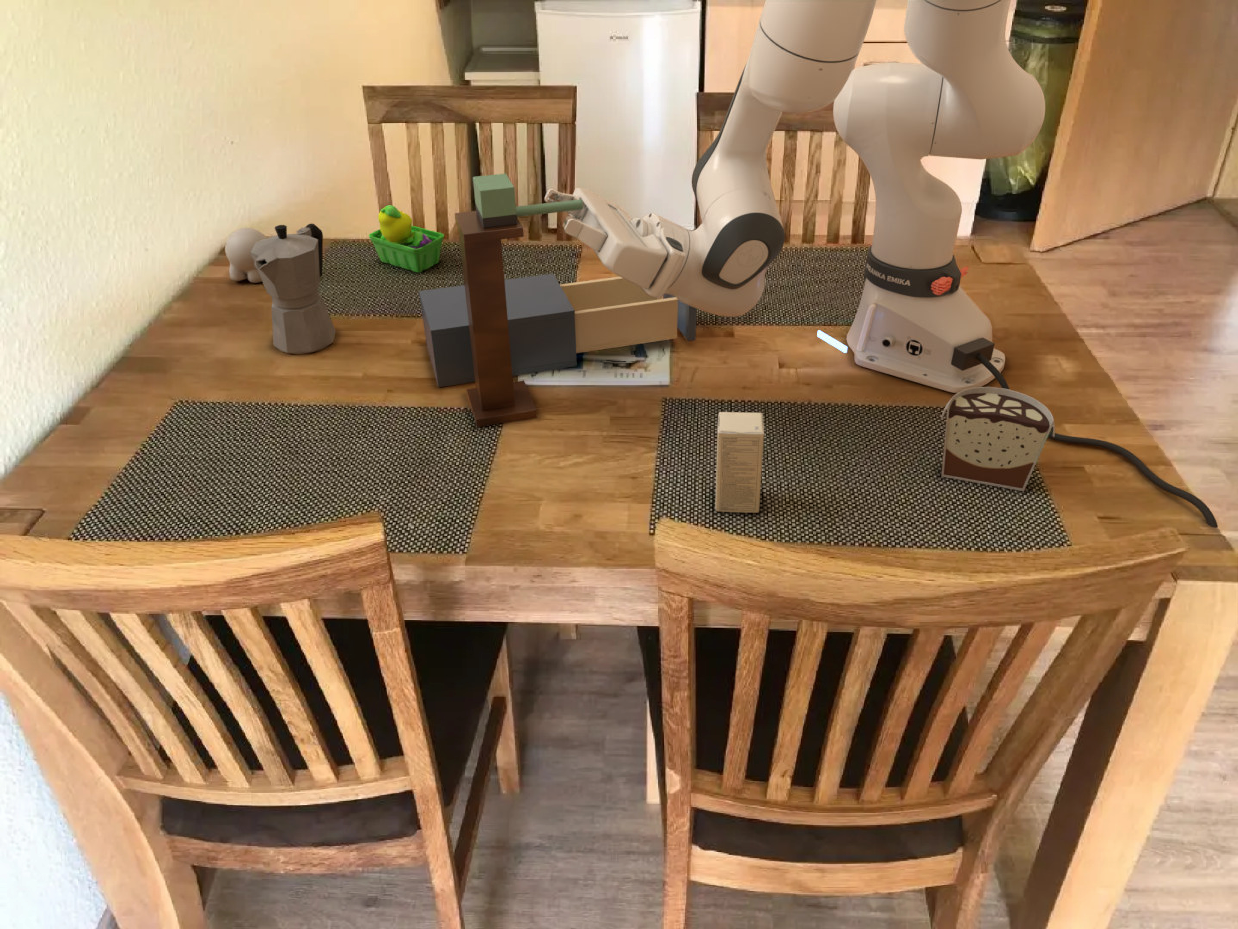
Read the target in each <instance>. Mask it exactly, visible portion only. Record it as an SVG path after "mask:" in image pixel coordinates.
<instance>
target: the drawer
mask: <svg viewBox="0 0 1238 929" xmlns="http://www.w3.org/2000/svg"><path fill="white" fill-rule="evenodd" d="M559 284H560V286H561V288H562V290H563V291H564V293H565V295H566V296H567V298H568V300H569V302H570V303H571V305H572V307H573V309H574V310H575V333H576V354H580V353H587V352H593V351H601V350H607V349H615V348H621V347H627V346H634V345H640V344H647V343H653V342H661V341H668V340H674V339H678V330H679V332H680V333H681V334H682V336H683V337H684V339H686V341H687V342H693V341H696V338H697V336H696V335H697V316H698V314H697V313H698V312H697V311H698V309H696V308H694V307H691V306H689V305H687V304H684V303H682V302H681V301H679V300H678V299H677V298H676V297H675V296H673V295H671V294H664V295H663V297H662V298H661V299H656V298H654V297H652V296H650V295H648V294H647V293H646V292H645V291H644V290H643V289H642V288H641V287H639V286H637V285H635V284H633V283H631V282H629V281H627V280H626V279H624V278H622V277H620V276H613V277H605V278H598V279H590V280H582V281H575V282H569V283H568V282H567V283H559Z"/></svg>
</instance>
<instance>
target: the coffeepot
mask: <svg viewBox="0 0 1238 929" xmlns="http://www.w3.org/2000/svg"><path fill="white" fill-rule="evenodd" d="M274 231H275V232H276V235H272V236H269V237H266V238H267V239H264V240H261V241H258V242H256V243H255V245H254V247H253V249H252V250H251V255H252V257H253V260H254V262H255V267H256V268H257V270H258V272H259V274H260V277H261V279H262V281H261V282H262V284H263V286H264V289H265V291H266V293H267V294H268V295H269V296H271V302H272V304H271V321H272V322H271V323H272V344H273V345H272V346H274V347H275V348H276V349H277V350H278V351H280V352H283V353H286V354H292V355H303V354H311V353H314V352H318V351H321V350H323V349H326V348H327V347H329V346H330V345H331V344H332V343H333V342H334V341H335V339H336V338H335V336H336V332H337V331H336V329H335V325H334V324H333V321H332V318H331V316H330V313H329V311H328V308H327V306H326V302H325V301H324V298H323V296H322V295H321V294H320V291H319V288H320V283H321V279H320V278H321V277H322V276H323V265H324V264H323V263H324V262H323V260H324V257H323V255H324V254H323V252H324V251H323V250H324V248H323V244H324V235H323V234H324V233H323V230H321V228H319V227H318V226H317V225H316V224H315V223H308V224H307V225H306V226H304V227H300V228H299V229H297V230H296V233H289V234H288V225H285V224H279V225H278V224H277V225H276V226H274Z"/></svg>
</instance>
